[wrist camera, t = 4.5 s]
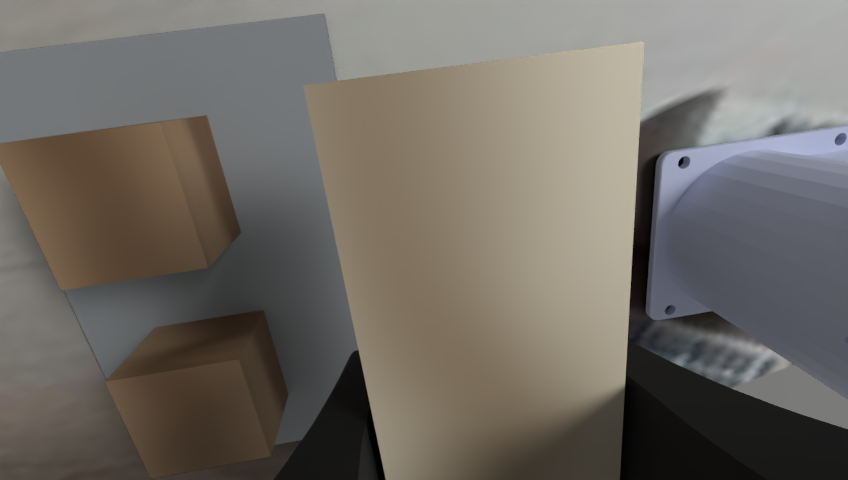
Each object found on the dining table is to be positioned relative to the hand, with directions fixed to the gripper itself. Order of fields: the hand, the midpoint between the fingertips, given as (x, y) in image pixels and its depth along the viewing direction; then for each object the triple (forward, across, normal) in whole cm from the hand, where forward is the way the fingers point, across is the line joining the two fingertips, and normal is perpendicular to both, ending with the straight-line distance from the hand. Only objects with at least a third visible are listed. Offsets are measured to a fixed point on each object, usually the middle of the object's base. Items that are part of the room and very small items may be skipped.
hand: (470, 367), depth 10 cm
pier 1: (+8, +10, -4) cm, 13 cm away
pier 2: (+8, +10, +4) cm, 13 cm away
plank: (+2, 0, 0) cm, 2 cm away
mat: (+9, +9, 0) cm, 12 cm away
